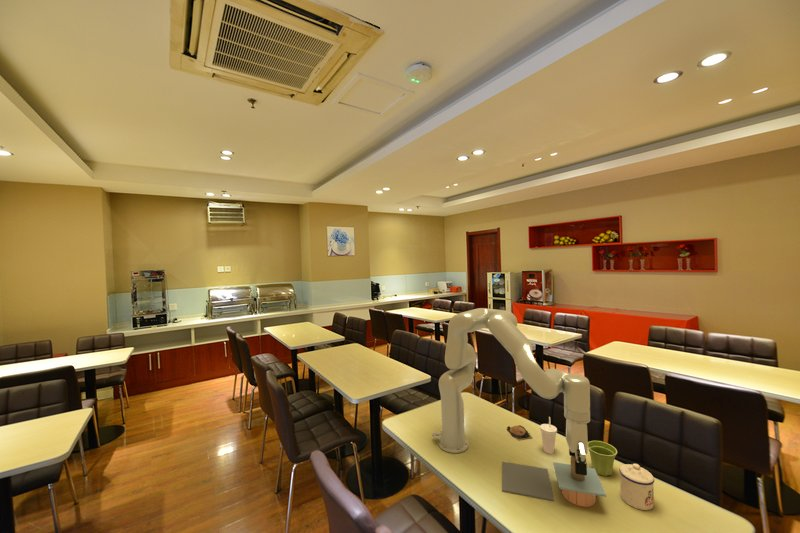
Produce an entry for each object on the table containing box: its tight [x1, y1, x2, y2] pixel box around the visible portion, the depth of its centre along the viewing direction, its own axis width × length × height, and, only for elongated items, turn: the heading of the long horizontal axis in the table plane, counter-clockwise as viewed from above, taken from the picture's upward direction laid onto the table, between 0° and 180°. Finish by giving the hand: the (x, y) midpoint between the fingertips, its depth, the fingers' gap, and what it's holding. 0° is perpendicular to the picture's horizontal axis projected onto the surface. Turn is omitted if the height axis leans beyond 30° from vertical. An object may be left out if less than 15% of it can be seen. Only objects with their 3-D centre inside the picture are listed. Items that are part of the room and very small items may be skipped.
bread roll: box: [506, 424, 533, 442], centre depth 145 cm, size 11×8×4 cm
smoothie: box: [539, 416, 558, 455], centre depth 131 cm, size 6×6×14 cm
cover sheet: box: [553, 456, 607, 498], centre depth 106 cm, size 13×13×7 cm
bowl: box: [560, 489, 597, 508], centre depth 106 cm, size 10×10×6 cm
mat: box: [501, 461, 555, 502], centre depth 114 cm, size 16×16×1 cm
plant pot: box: [588, 440, 618, 477], centre depth 118 cm, size 9×9×9 cm
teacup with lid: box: [619, 463, 655, 511], centre depth 104 cm, size 12×9×12 cm
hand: (577, 464), depth 106 cm, fingers open, 9 cm apart
